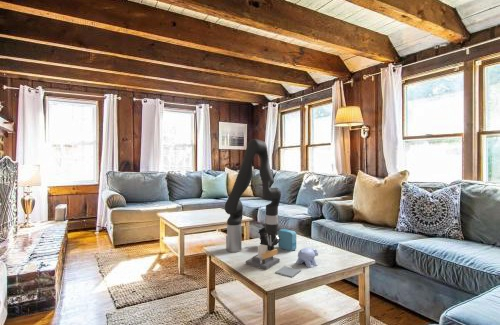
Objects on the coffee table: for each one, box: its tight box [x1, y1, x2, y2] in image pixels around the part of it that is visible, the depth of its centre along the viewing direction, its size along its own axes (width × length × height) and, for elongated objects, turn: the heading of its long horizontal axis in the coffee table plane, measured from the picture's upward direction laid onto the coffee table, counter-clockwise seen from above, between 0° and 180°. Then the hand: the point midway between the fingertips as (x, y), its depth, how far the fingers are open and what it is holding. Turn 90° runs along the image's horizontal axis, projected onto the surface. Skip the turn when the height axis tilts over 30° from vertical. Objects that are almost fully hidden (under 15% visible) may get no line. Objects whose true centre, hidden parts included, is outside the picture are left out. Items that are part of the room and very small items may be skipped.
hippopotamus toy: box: [295, 247, 319, 269], centre depth 165 cm, size 11×15×10 cm
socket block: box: [245, 253, 281, 271], centre depth 166 cm, size 14×14×4 cm
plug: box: [256, 244, 269, 258], centre depth 166 cm, size 6×6×8 cm
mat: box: [274, 265, 302, 278], centre depth 153 cm, size 10×10×1 cm
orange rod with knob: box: [259, 248, 278, 260], centre depth 164 cm, size 2×14×3 cm, turn 133°
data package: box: [277, 228, 297, 252], centre depth 192 cm, size 12×4×12 cm, turn 43°
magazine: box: [257, 226, 269, 251], centre depth 194 cm, size 4×13×15 cm, turn 29°
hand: (271, 251), depth 169 cm, fingers closed
